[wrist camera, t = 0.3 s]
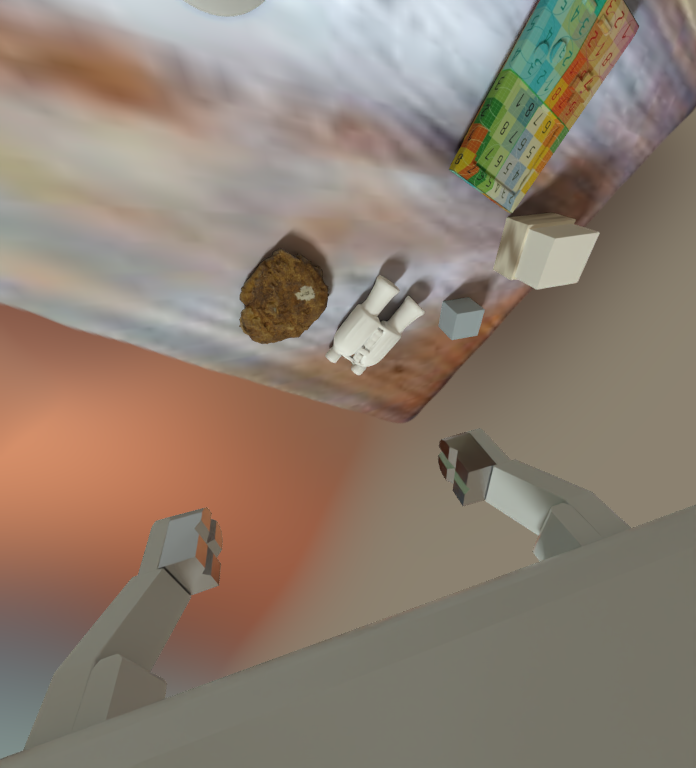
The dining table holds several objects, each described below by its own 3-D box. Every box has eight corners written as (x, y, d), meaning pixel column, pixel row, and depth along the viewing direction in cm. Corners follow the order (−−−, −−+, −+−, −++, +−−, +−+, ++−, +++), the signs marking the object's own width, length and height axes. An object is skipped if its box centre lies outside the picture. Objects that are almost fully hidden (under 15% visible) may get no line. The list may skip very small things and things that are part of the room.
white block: (529, 229, 44) (554, 238, 41) (570, 223, 45) (599, 232, 42) (514, 277, 49) (536, 289, 45) (552, 270, 50) (577, 282, 46)
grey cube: (442, 301, 54) (457, 314, 50) (468, 297, 55) (484, 309, 51) (438, 326, 57) (451, 340, 54) (462, 321, 58) (477, 335, 55)
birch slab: (506, 217, 48) (528, 225, 44) (550, 212, 49) (575, 219, 45) (492, 269, 53) (510, 280, 49) (533, 263, 54) (554, 273, 50)
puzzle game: (647, 24, 33) (516, 215, 43) (609, 33, 37) (496, 208, 46) (592, -72, 28) (456, 171, 38) (553, -50, 31) (439, 167, 41)
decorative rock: (283, 349, 53) (337, 278, 48) (287, 363, 50) (345, 289, 45) (219, 318, 46) (274, 231, 41) (219, 332, 43) (278, 239, 38)
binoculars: (419, 303, 54) (431, 315, 50) (361, 369, 60) (368, 384, 56) (376, 269, 48) (386, 280, 44) (317, 346, 54) (322, 361, 50)
